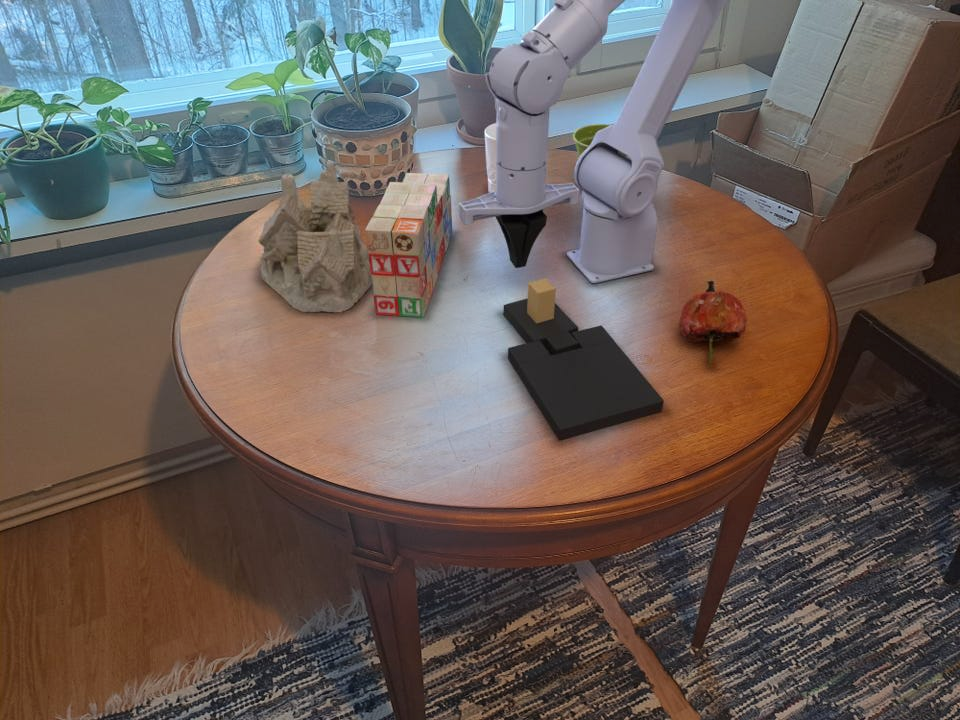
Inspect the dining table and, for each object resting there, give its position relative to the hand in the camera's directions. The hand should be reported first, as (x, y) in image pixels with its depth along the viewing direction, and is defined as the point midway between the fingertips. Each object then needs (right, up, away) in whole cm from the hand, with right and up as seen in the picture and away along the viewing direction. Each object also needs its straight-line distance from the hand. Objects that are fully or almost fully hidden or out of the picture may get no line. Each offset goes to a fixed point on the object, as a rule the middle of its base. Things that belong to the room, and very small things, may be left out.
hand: (517, 263), depth 89 cm
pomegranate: (+22, -10, -5) cm, 25 cm away
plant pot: (+14, +16, +26) cm, 34 cm away
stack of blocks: (-13, 0, +8) cm, 16 cm away
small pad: (+3, -9, -3) cm, 10 cm away
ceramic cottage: (-27, -1, +7) cm, 28 cm away
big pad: (+6, -15, -10) cm, 19 cm away
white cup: (0, +15, +26) cm, 30 cm away
